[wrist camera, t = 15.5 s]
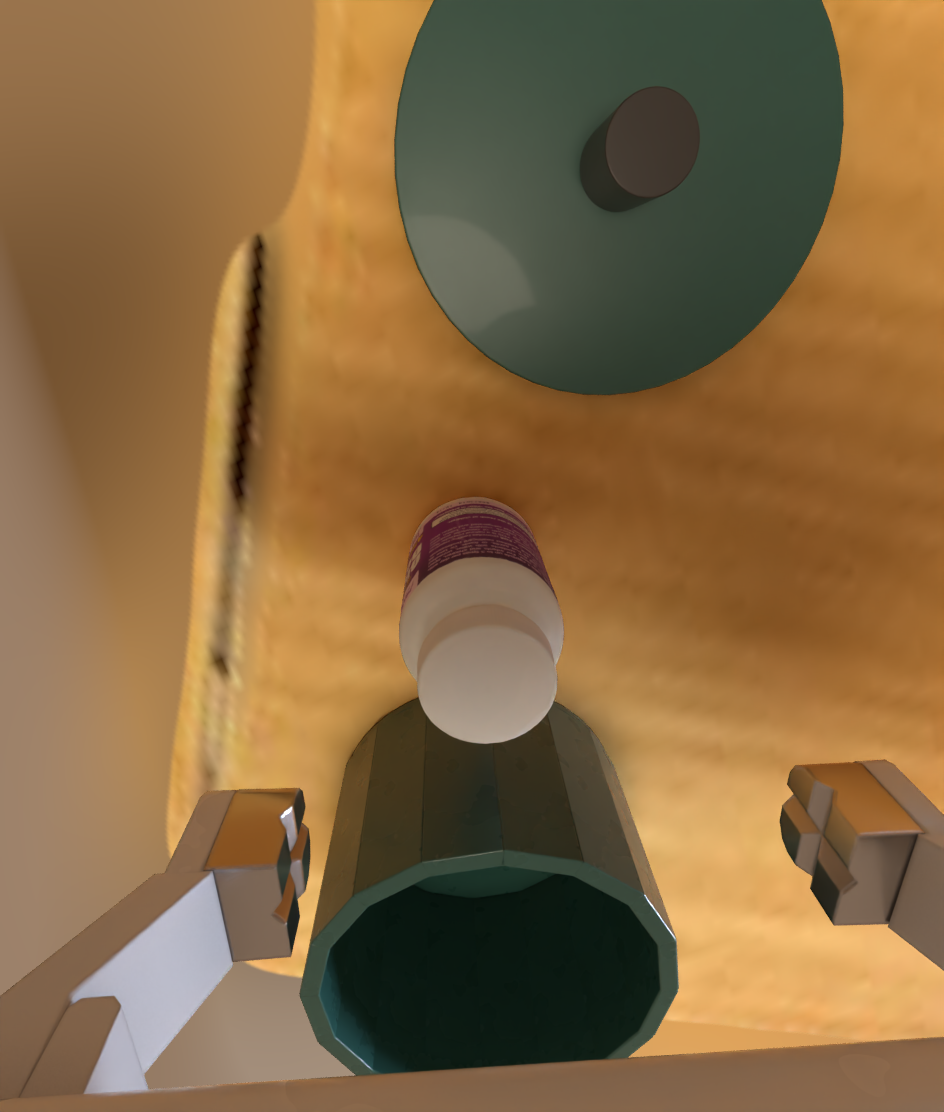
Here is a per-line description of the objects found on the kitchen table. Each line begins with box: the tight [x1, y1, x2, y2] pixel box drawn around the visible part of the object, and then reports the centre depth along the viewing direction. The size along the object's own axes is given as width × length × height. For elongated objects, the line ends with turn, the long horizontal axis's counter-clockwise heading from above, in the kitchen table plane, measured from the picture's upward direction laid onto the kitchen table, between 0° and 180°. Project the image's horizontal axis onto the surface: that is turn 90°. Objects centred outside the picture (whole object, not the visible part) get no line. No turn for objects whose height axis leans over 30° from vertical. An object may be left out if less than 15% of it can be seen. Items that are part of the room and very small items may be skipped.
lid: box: [394, 0, 843, 395], centre depth 20 cm, size 14×14×5 cm
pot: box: [300, 698, 679, 1076], centre depth 27 cm, size 13×13×10 cm
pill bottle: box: [399, 497, 564, 744], centre depth 22 cm, size 5×5×10 cm
